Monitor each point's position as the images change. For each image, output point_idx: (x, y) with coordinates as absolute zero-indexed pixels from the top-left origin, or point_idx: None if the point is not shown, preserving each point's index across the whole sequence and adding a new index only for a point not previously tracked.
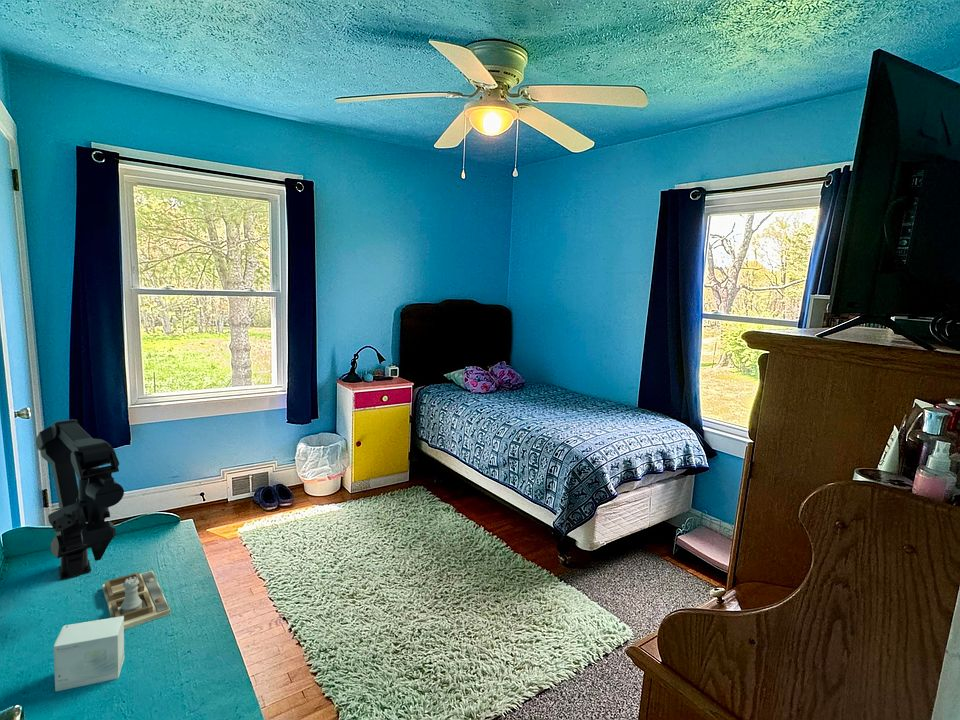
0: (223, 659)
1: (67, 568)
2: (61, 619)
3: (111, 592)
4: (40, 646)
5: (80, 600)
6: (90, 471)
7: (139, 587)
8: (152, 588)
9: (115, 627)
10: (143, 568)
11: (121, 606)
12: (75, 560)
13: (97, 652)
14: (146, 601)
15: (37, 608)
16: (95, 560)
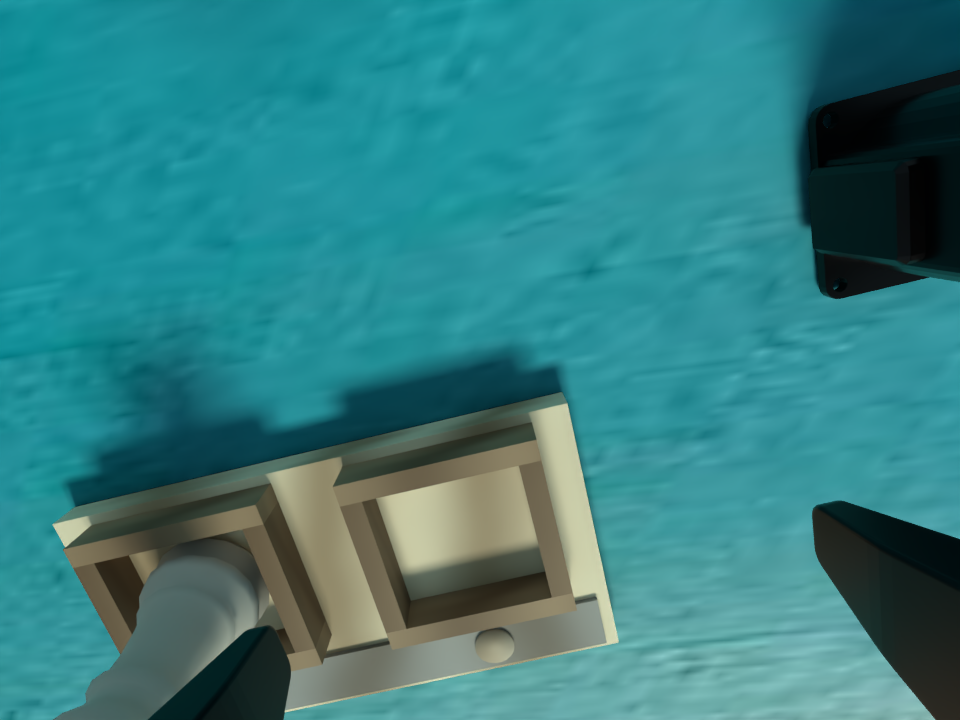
0: None
1: (872, 150)
2: (285, 214)
3: (373, 492)
4: (21, 150)
5: (472, 287)
6: None
7: (385, 626)
8: (400, 659)
9: None
10: (707, 573)
11: (172, 567)
12: (907, 213)
13: None
14: None
15: (472, 31)
16: (247, 634)
